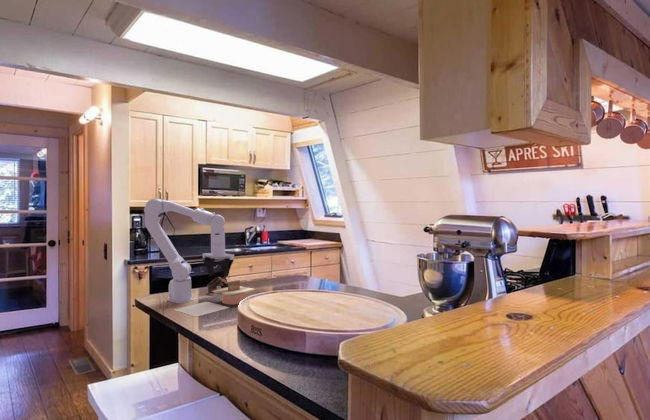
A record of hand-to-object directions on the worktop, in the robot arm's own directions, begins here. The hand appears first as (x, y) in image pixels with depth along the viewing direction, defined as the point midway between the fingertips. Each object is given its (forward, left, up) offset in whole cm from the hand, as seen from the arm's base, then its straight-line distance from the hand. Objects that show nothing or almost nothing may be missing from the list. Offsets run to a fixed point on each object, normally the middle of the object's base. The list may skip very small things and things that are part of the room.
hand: (218, 275), depth 178 cm
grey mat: (+8, -14, -10) cm, 19 cm away
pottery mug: (-9, +8, -10) cm, 16 cm away
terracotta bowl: (+9, +1, -10) cm, 13 cm away
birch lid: (+9, +1, -5) cm, 10 cm away
